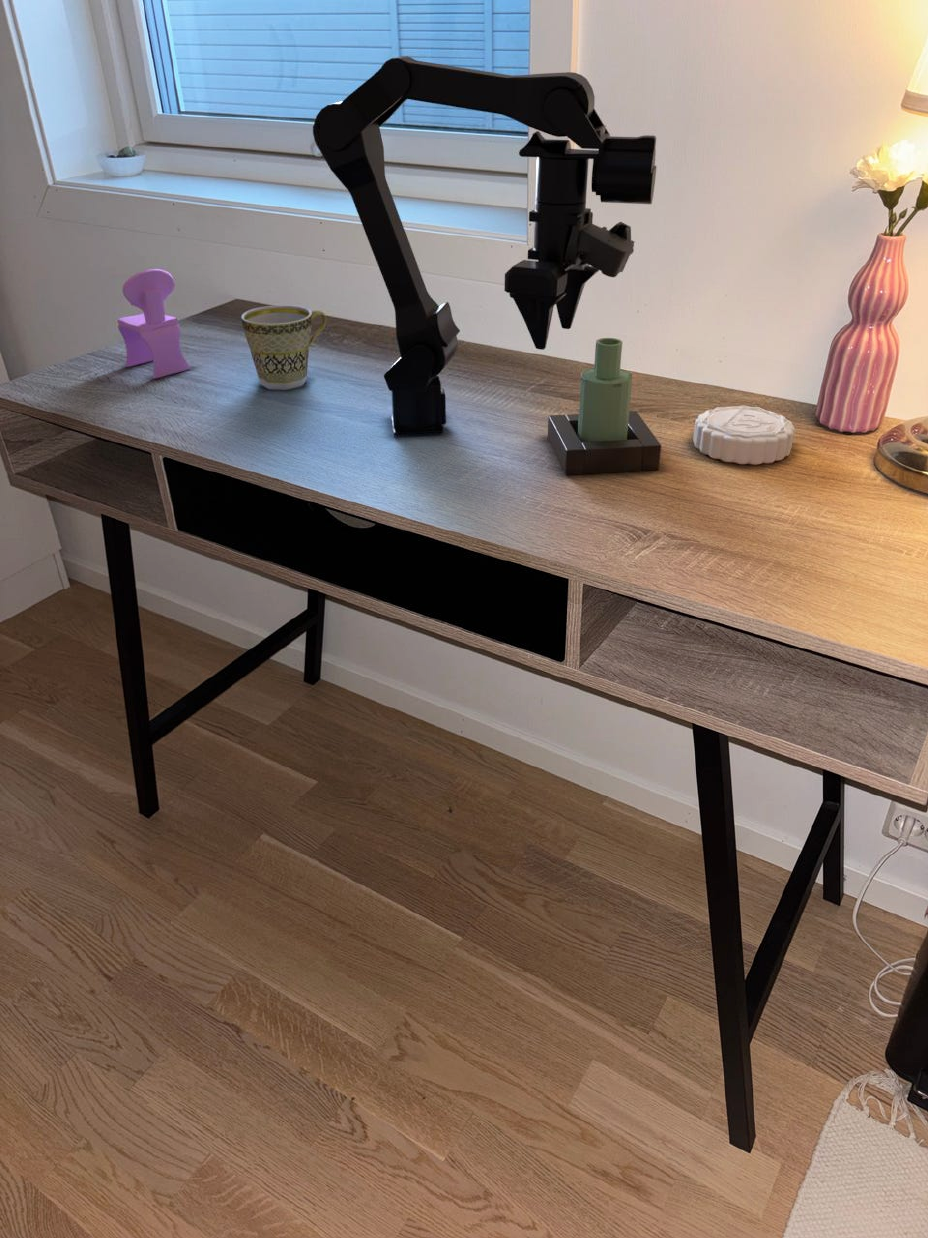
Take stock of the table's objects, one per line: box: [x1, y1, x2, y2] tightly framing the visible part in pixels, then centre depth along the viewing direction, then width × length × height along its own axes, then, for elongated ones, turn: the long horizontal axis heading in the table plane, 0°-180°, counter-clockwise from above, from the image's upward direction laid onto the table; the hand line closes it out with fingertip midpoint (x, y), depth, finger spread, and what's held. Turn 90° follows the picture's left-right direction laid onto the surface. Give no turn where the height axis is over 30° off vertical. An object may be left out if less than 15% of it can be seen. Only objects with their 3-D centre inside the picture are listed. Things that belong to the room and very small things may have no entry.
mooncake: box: [692, 405, 796, 466], centre depth 122 cm, size 12×12×4 cm
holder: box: [547, 410, 662, 476], centre depth 120 cm, size 11×11×3 cm
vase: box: [578, 337, 633, 442], centre depth 117 cm, size 6×6×14 cm
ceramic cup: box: [240, 304, 327, 391], centre depth 142 cm, size 13×10×10 cm
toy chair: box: [116, 268, 191, 379], centre depth 147 cm, size 8×9×15 cm
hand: (553, 338), depth 118 cm, fingers open, 9 cm apart
